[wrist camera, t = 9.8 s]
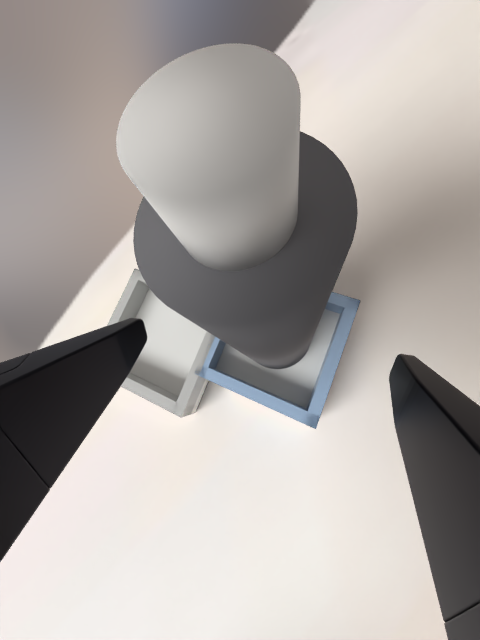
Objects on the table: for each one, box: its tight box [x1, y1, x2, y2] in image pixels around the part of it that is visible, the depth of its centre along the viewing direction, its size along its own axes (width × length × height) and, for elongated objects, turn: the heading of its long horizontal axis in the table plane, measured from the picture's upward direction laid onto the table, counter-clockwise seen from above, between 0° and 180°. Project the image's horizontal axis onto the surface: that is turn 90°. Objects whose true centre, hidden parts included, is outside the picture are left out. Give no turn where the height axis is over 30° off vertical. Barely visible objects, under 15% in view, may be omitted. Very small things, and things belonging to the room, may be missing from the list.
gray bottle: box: [116, 43, 357, 369], centre depth 10 cm, size 4×4×15 cm
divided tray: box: [107, 269, 360, 429], centre depth 18 cm, size 11×16×2 cm
